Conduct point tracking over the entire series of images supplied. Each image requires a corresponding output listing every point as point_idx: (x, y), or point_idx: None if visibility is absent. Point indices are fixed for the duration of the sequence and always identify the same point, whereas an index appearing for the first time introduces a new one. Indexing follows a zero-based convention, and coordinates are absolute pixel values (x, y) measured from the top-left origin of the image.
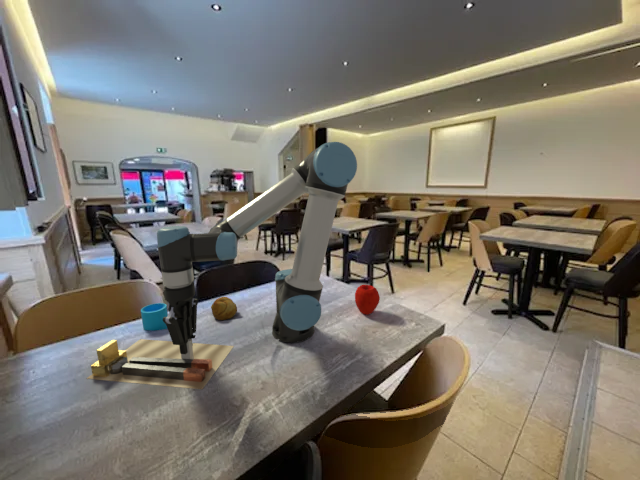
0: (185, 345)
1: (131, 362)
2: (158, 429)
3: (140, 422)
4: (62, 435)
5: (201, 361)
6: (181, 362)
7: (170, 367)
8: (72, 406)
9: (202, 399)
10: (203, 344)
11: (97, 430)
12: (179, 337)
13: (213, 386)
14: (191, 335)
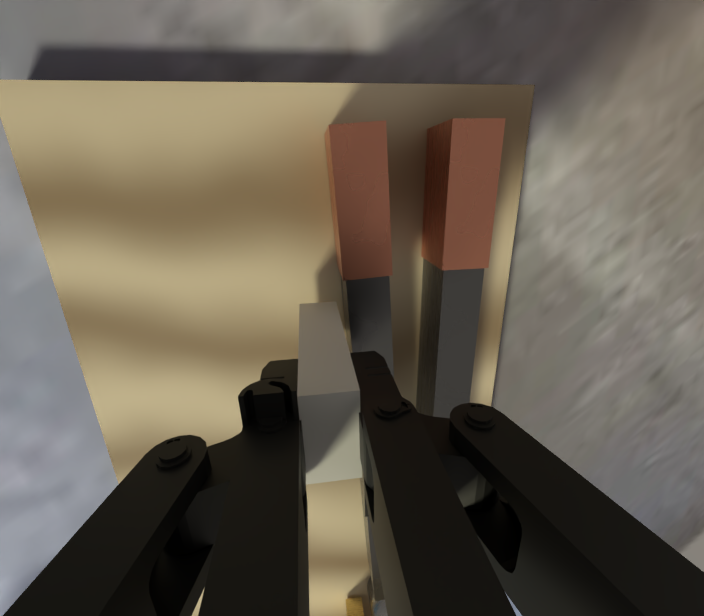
0: (379, 394)
1: None
2: (701, 191)
3: (651, 293)
4: (660, 480)
5: (367, 201)
6: (390, 344)
7: (440, 377)
8: None
9: (549, 72)
10: (89, 358)
11: (660, 407)
12: (598, 502)
13: (447, 56)
14: (278, 431)
